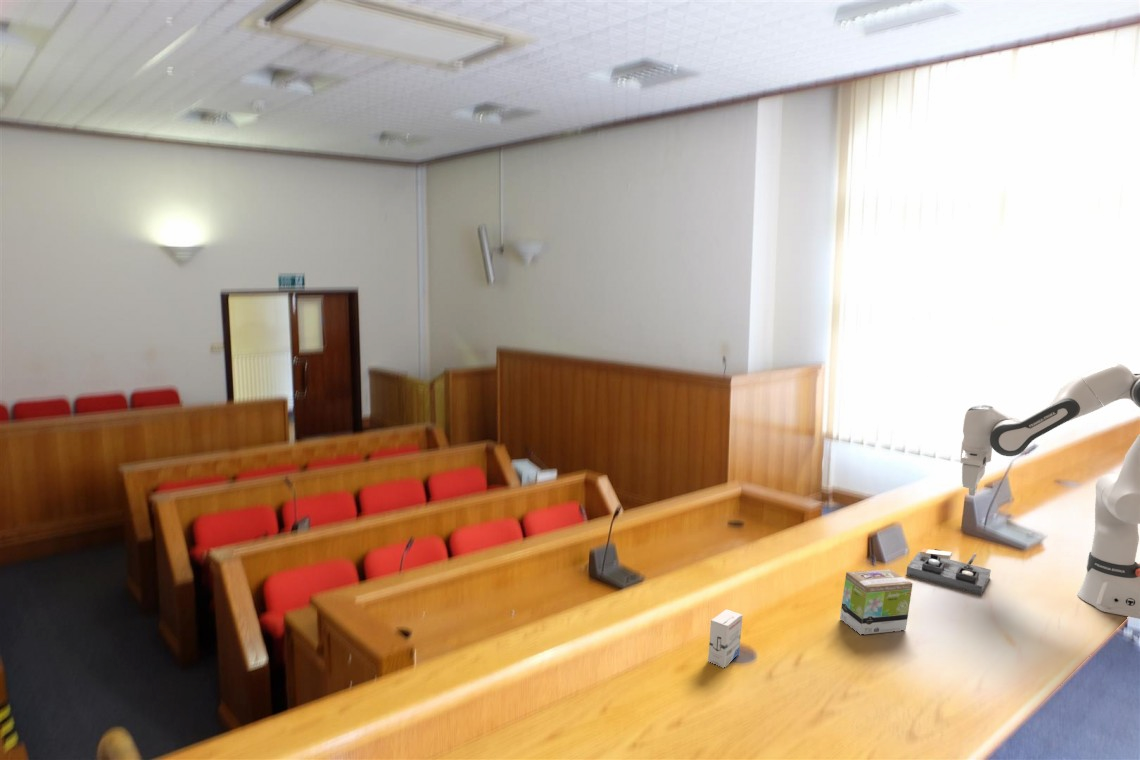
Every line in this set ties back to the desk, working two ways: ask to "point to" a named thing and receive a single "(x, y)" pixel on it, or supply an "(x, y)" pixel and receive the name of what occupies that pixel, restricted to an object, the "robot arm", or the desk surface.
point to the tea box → (876, 601)
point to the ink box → (725, 637)
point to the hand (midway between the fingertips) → (972, 494)
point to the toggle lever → (971, 560)
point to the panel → (949, 573)
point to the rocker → (936, 553)
